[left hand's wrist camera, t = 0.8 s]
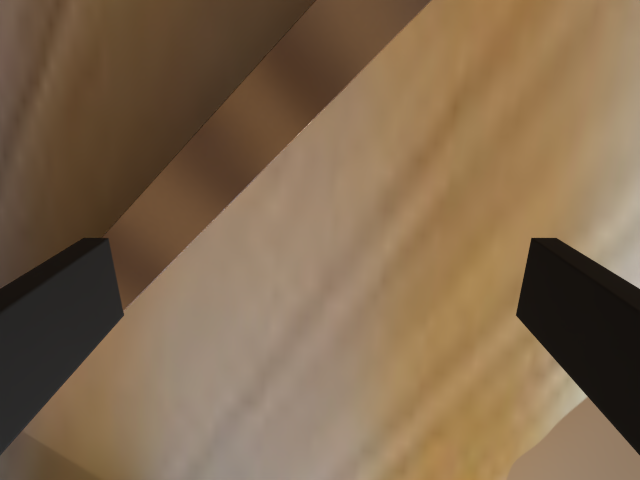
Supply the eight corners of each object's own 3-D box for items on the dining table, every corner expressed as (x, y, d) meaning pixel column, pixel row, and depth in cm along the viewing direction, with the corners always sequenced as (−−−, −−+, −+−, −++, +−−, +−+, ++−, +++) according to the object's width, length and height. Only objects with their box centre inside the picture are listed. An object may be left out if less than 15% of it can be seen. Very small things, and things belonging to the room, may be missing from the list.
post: (479, -156, 26) (541, -251, 19) (518, -94, 28) (591, -161, 20) (-54, 426, 44) (-129, 493, 37) (-16, 448, 46) (-81, 517, 38)
